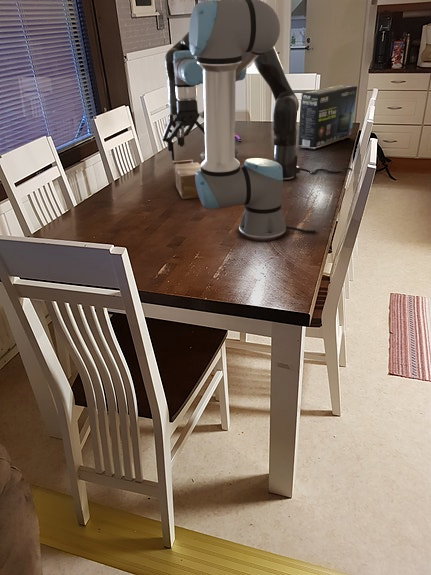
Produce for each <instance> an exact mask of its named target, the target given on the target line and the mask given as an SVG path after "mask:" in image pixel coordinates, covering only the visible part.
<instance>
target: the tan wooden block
mask: <svg viewBox="0 0 431 575" xmlns="http://www.w3.org/2000/svg"><path fill="white" fill-rule="evenodd" d="M174 166H175V178H176V179H175V178H174V179H175V187H176V189H177V191H178V193H179V195H180V197H181V199H182V200H187V199H197V198H199V195H198V191H197V187H196V182H195V173H196V172H197V171H201V163H199V162H197V161H196V162H194V163H187V164H177V165H174Z"/></svg>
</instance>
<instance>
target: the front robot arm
mask: <svg viewBox="0 0 431 575" xmlns="http://www.w3.org/2000/svg"><path fill="white" fill-rule="evenodd" d="M188 32H189V43H190V44H189V47H190V50H184V51H176V52H174V54H173V59H174V61H173V64H174V73H175V86H176V98H177V99H178V100H177V115H174V114H170V113H169V114H168V121H167V123H166V124H167V126H166V127H165V129H164V131H163V134H162V137H161V140H162V142H164V143H167V144H166V145H167V150H168V152H170V157H171V160H172V161H175V149H174V142H173V140H174V138H176V137H175V135H176V134H177V132H178V131H180V128H181V127H182V126H186V127H188V126H193V125H194V124H195V125H196V127H197V128H198V129H199V130H200V132H202V133H203V134H204V147H205V148H204V151H205V157H206V158H205V159H204V160H203V159H202V161H201V162H200V166H201V171H197V172H196V173H195V182H196V187H197V191H198V195H199V197H198V198H199V201H200V203H201V205H202V207H203V208H204V209H206V210H220V209H226V208H233V207H239V206H244V211H243V213H242V215H241V217H240V218H241V220H240V222H239V225H238V232H239V235H240V236H241V237H242V238H244V239H247V240H250V241H254V242H271V241H277V240H279V239H281V238H283V237H285V235H286V234H287V230H292V231H296V232H301V233H305V234H316V232H317V230H315V229H314V230H311V229H303V228H298V227H294V226H288V225H287V223H286V221H285V216H284V214H283V210H282V200H283V183H284V180H283V170H282V166H281V165H280V164H279V163H277V162H275V161H273V159H268V158H259V157H253V158H251V157H250V158H247V159H245V160H244V163H243V165H241V162H240V161H239V160H238V159H237V158H236V155H235V148H236V138H235V134H236V82H238V81H243V80H245V79H246V75H247V68H248V67H249V66H250V65H251V64H252V63H254V62H253V61H254V60H255V59H256V58H257V57H258V56H259V55H264V54H266V53H267V52H269V51H270V50H271V49H272V48H273V47H274V48H275V46H276V45H277V43H278V40H279V38H280V35H281V34H280V33H281V22H280V18H279V16H278V14H277V12H276V10H274V8H273V7H272V6H270V5H269V4H268V3H267V2H264V1H262V0H205V1H200V2H197V3H196V4H195V5H194V6H193V9H192V11H191V15H190V19H189V26H188ZM201 84H203V86H202V88H203V110H202V111H200V112H199V109H198V108H199V107H198V99H197V97H198V89H197V86H200V85H201ZM175 118H177V119H178V120H179V122H178V123H177V125H176V127H175V128H174V127H173V126H172V123H173V121H174V120H175ZM199 118H201V119H202V120H203V121H204V122H203V123H204V127H203V126H202V125H201V123H200V122H199V121H198V120H199ZM195 125H194V126H195ZM194 126H193V127H194ZM172 127H173V129H172ZM170 128H171V129H172V133H170V132H169V131H170Z"/></svg>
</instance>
